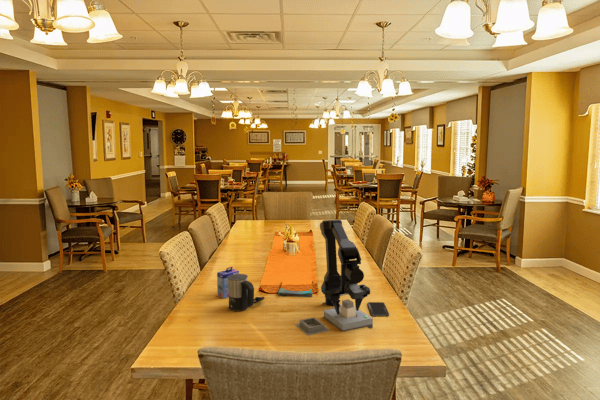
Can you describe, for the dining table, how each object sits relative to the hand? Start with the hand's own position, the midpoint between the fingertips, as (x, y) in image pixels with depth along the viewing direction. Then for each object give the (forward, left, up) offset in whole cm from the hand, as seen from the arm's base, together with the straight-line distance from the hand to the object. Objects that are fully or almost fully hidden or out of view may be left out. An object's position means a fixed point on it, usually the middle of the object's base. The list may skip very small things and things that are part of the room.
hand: (347, 312), depth 187 cm
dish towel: (-49, -1, -6) cm, 49 cm away
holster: (-1, -16, -5) cm, 17 cm away
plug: (0, 0, -3) cm, 3 cm away
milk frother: (-37, -32, -5) cm, 49 cm away
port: (0, 0, -5) cm, 5 cm away
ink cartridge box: (-55, -35, -5) cm, 65 cm away
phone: (-7, +20, -5) cm, 22 cm away
